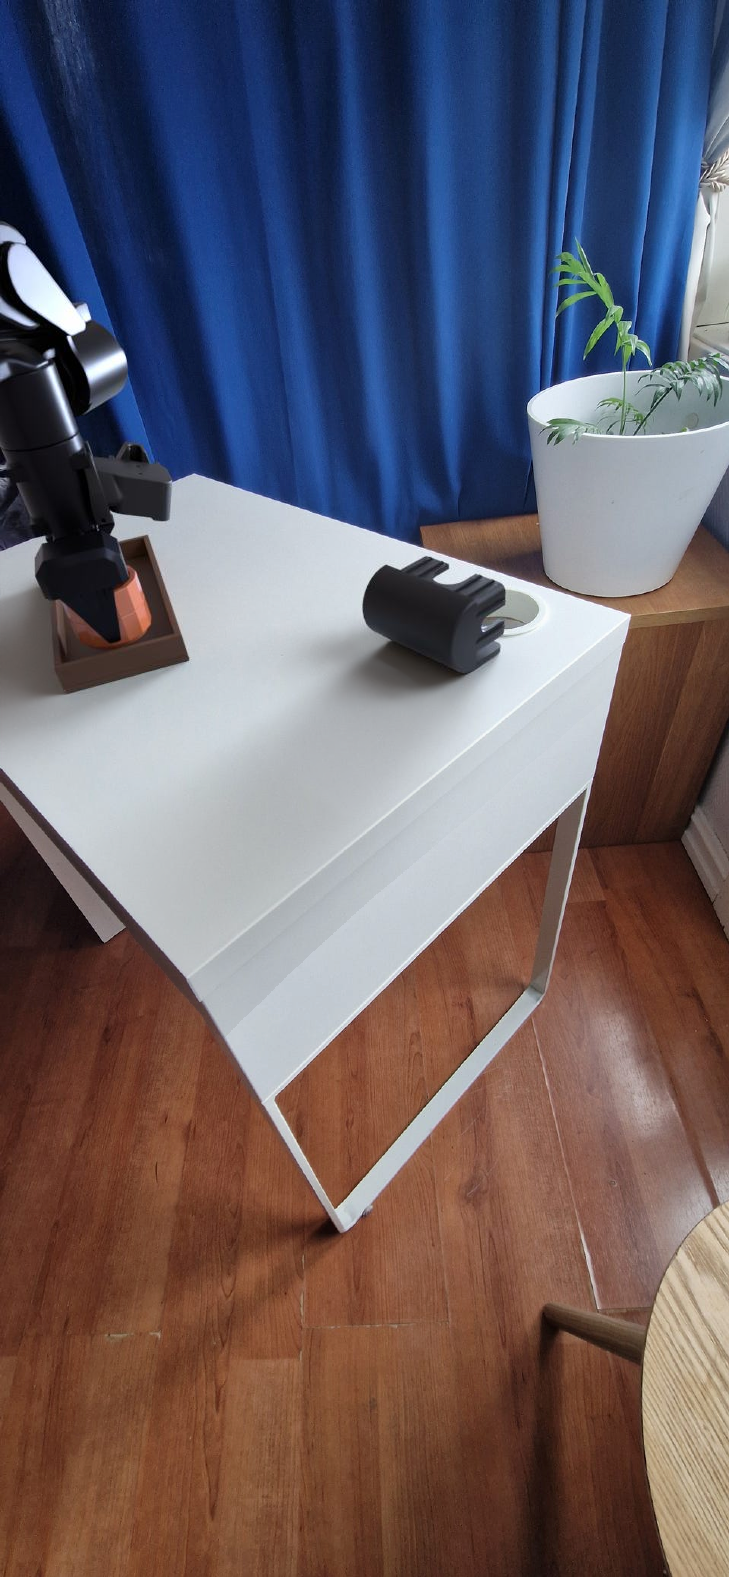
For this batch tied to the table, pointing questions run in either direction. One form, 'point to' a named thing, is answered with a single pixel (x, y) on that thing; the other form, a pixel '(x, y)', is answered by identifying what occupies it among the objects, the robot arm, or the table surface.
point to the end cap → (436, 613)
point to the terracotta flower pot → (130, 616)
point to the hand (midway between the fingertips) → (111, 623)
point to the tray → (145, 654)
